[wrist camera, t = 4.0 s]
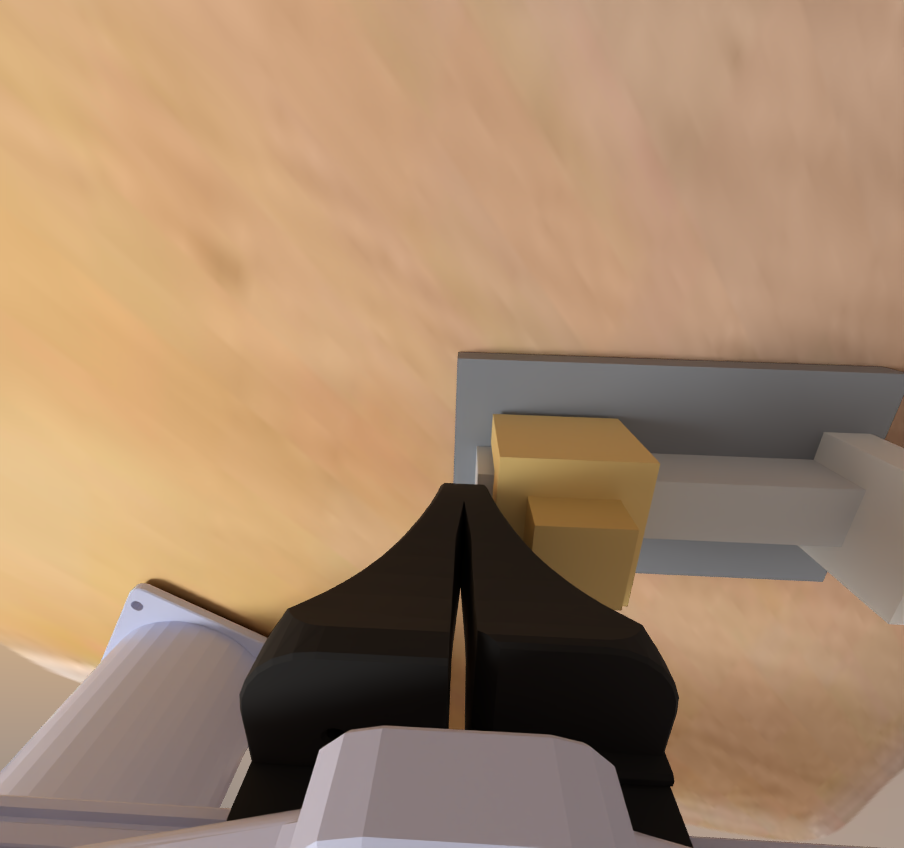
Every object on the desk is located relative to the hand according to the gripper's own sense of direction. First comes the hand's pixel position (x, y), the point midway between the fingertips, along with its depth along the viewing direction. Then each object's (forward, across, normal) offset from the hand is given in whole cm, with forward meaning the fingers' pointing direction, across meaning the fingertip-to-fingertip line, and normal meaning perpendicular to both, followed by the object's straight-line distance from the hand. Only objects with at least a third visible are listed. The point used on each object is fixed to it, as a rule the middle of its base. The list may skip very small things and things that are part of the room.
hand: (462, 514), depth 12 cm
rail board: (+4, -7, 0) cm, 8 cm away
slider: (+2, -3, 0) cm, 4 cm away
